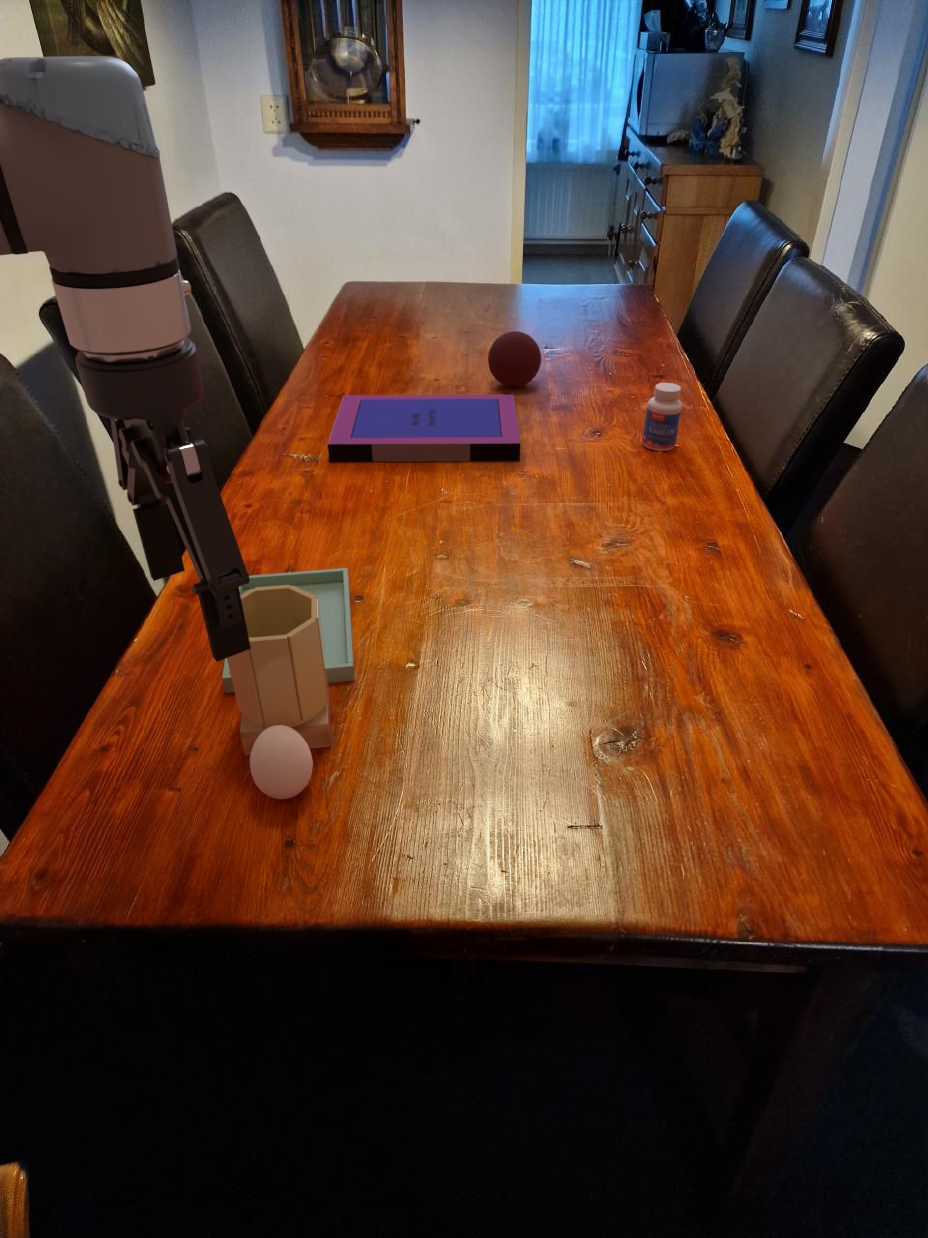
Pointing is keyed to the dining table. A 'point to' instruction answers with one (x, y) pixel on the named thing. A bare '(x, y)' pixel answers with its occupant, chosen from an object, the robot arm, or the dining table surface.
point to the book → (425, 429)
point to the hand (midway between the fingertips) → (197, 611)
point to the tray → (333, 614)
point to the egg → (281, 762)
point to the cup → (281, 658)
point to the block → (311, 731)
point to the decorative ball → (514, 359)
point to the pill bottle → (662, 418)
